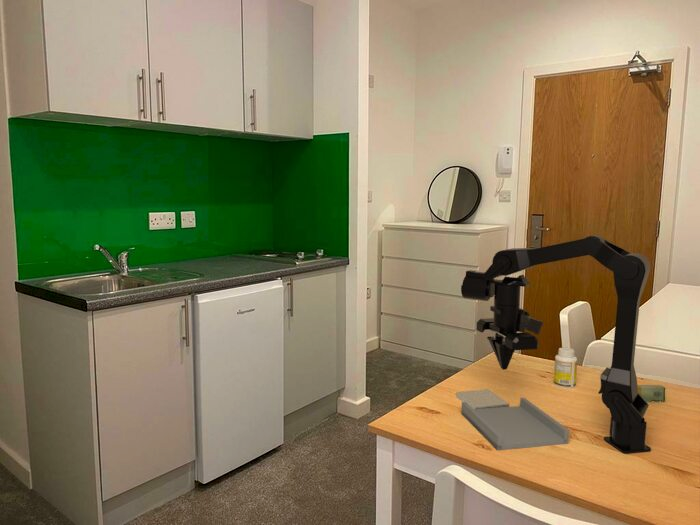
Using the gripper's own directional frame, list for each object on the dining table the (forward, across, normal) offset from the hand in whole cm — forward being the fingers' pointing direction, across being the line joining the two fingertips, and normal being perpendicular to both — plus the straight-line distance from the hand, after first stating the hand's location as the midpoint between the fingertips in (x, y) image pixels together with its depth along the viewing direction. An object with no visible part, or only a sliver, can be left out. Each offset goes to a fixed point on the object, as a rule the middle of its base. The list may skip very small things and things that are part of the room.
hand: (503, 369), depth 126 cm
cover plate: (+11, +7, +2) cm, 13 cm away
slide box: (+11, -8, +2) cm, 14 cm away
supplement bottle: (+11, +14, -26) cm, 31 cm away
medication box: (+12, +1, -38) cm, 40 cm away
